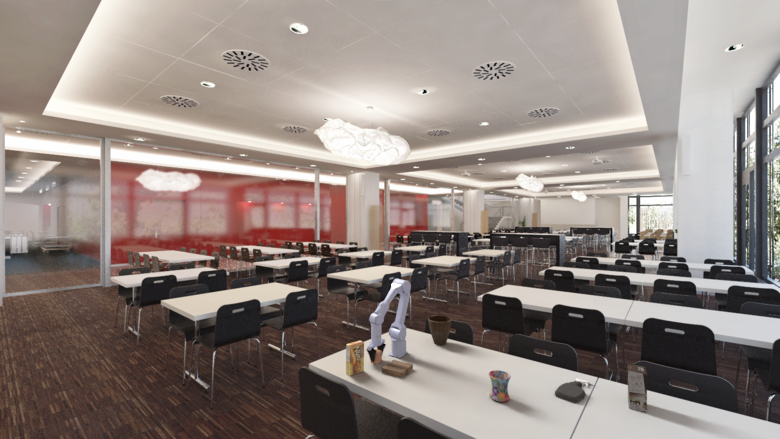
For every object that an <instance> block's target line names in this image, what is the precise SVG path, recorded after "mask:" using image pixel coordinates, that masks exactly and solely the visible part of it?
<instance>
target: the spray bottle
mask: <svg viewBox="0 0 780 439" xmlns="http://www.w3.org/2000/svg"><path fill="white" fill-rule="evenodd" d="M574 378H575V379H574V380H573V381H570V382H569V381H568V382H564V383H562V384H560V385H559V386H558V387H557V388H556V390H555V391H554V396H555V397H556V398H558V399H561V400H564V401H567V402H570V403H572V404H578V403H579V402H581V401H582V400H583V399H584V398H585V397H586V392H585V390H584V389H583V388H582V387H583V386H584V385H585V386H586V387H587V388H589V385H591V386H593V382H591V381H588V380H586V379H585V380H584V379H581V378H577V377H574Z"/></svg>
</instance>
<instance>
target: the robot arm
mask: <svg viewBox="0 0 780 439" xmlns="http://www.w3.org/2000/svg"><path fill="white" fill-rule="evenodd" d="M411 288H412V285H411V283H410V281H409V280H408V279H407V280H404V279H402V278H401V279H400V278H394V280H393V281H392V283H391V287H390V290H389V291H388V293H387V295H386V297H385V298H384V300H383V301H381V302H379V303H378V305H377V308H376V309H375V311H374V312H372V313H371V314H370V316H369V318H368V321H369V322H370V326H371V327H370V330H371V331H370V333H371V334H370V335H371V336H370V338H371V339H370V341H369V345H368V346H367V348H366V352H367V353H368V356H369V360H370V363H372V362H374V361H375V354H376V351H377V350H381V351H382V355H384V354H383V353H384V350H385V348H386V343H385V342H386V339H384V338H382V324H383V323H384V321H385V315H386V314H387V312H388V311H389V309H390V304H391V302H392V301H393V300H394V298H395V297H396V296H397V294H399V295H400V297H399V301H398V306H397V310H396V315H395V319H394V321H393V323H391V324H390V325H391V326H390V328H389V329H388V336H389V337H390V341H391V344H390V345H391V349H390V350H391V352H390V353H388V356H390V357H395V358H399V359H400V358H402V357H403V356H405V355H407V354H408V351H407V340H406V337H407V326H406V325H405V321H406V315H407V311H408V307H409V303H410V302H409V301H410V297H411ZM374 349H377V350H374Z"/></svg>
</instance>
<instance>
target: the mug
mask: <svg viewBox="0 0 780 439" xmlns="http://www.w3.org/2000/svg"><path fill="white" fill-rule="evenodd" d="M488 376H489V379H490V382H491V390H490V392H489V397H490V398H491V399H492V400H493V401H496V402H500V403H504V402H509V400H510V395H509V392H508V385H509V382H510V380H511V378H512V377H511V374H510V373H509V372H507V371H504V370H501V369H500V370H498V369H495V370H491V371H489V372H488Z"/></svg>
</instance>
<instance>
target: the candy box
mask: <svg viewBox="0 0 780 439" xmlns="http://www.w3.org/2000/svg"><path fill="white" fill-rule="evenodd" d="M345 349H346V350H345V361H346V362H345V373H346V375H348V376H353V375H356V374H358V373H362V372H364V371H365V342H364V341H362V340H357V341H353V342H350V343H346V345H345Z"/></svg>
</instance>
